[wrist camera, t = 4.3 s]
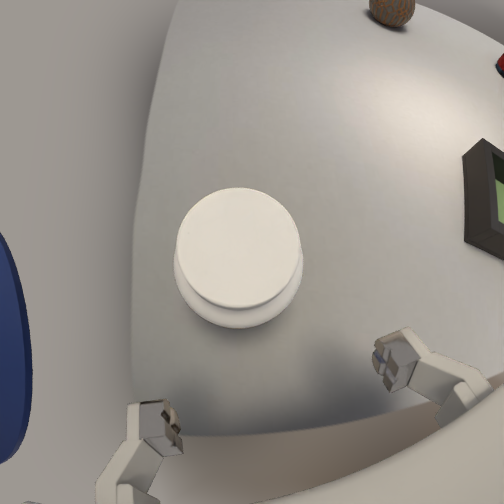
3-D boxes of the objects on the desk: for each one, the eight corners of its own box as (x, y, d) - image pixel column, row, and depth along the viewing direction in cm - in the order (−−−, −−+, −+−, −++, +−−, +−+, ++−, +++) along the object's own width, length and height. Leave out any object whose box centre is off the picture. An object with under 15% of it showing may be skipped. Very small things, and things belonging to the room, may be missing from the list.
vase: (390, 35, 31) (410, -9, 23) (355, 10, 32) (370, -32, 24) (412, 30, 33) (431, -8, 24) (380, 7, 34) (395, -31, 25)
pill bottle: (177, 282, 22) (124, 239, 11) (239, 227, 23) (241, 142, 12) (236, 346, 21) (233, 365, 10) (298, 286, 22) (352, 247, 11)
